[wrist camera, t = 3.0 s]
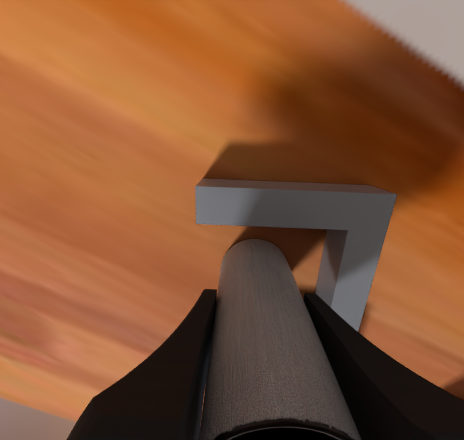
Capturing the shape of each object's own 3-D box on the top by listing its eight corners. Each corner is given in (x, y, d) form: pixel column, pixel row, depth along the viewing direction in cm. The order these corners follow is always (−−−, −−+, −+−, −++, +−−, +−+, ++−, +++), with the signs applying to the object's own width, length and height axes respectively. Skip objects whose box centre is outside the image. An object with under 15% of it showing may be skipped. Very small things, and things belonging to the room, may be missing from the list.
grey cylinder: (229, 300, 16) (219, 528, 7) (213, 245, 15) (170, 435, 5) (291, 288, 16) (375, 514, 6) (280, 231, 15) (367, 410, 5)
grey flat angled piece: (369, 184, 14) (397, 194, 11) (310, 428, 21) (319, 464, 19) (202, 178, 14) (195, 186, 11) (204, 423, 21) (200, 459, 19)
